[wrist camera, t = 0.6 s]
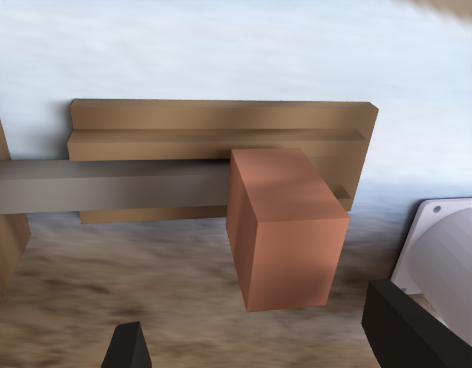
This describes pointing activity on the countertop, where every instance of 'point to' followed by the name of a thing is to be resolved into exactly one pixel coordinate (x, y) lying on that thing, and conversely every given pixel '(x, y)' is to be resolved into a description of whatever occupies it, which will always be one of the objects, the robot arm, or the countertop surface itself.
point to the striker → (198, 194)
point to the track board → (220, 140)
